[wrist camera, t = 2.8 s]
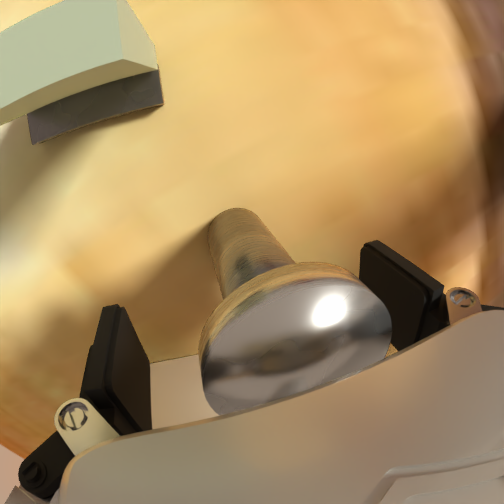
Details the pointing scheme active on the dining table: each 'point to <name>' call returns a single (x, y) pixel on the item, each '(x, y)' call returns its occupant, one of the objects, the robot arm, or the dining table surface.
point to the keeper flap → (70, 53)
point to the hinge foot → (96, 105)
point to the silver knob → (281, 319)
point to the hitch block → (177, 392)
